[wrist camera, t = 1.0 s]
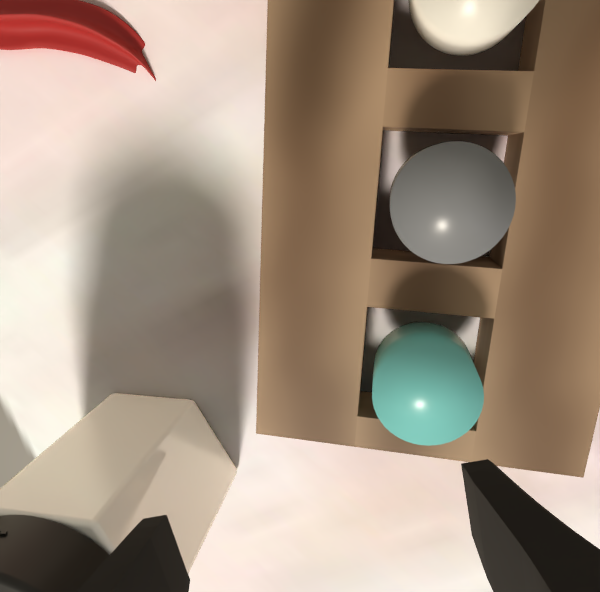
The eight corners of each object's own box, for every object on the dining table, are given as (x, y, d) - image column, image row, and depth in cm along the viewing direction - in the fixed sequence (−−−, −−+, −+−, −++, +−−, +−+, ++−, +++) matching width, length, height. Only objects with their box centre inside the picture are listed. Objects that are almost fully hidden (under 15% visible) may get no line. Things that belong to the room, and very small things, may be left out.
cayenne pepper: (-79, -5, 23) (-118, -19, 21) (-42, -105, 22) (-81, -129, 20) (131, 151, 24) (109, 150, 22) (180, 62, 22) (162, 53, 20)
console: (684, -118, 17) (731, -162, 15) (563, 444, 23) (583, 477, 21) (286, -107, 19) (271, -144, 17) (268, 407, 25) (256, 433, 23)
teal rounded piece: (478, 326, 20) (491, 352, 18) (464, 415, 21) (475, 452, 19) (378, 317, 21) (376, 340, 18) (370, 404, 22) (367, 438, 19)
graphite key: (505, 146, 18) (525, 143, 16) (489, 253, 19) (505, 268, 17) (394, 141, 19) (396, 138, 16) (385, 246, 20) (384, 259, 17)
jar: (126, 356, 26) (-79, 512, 15) (261, 439, 26) (160, 661, 14) (65, 477, 29) (-148, 687, 17) (186, 552, 29) (53, 813, 17)
